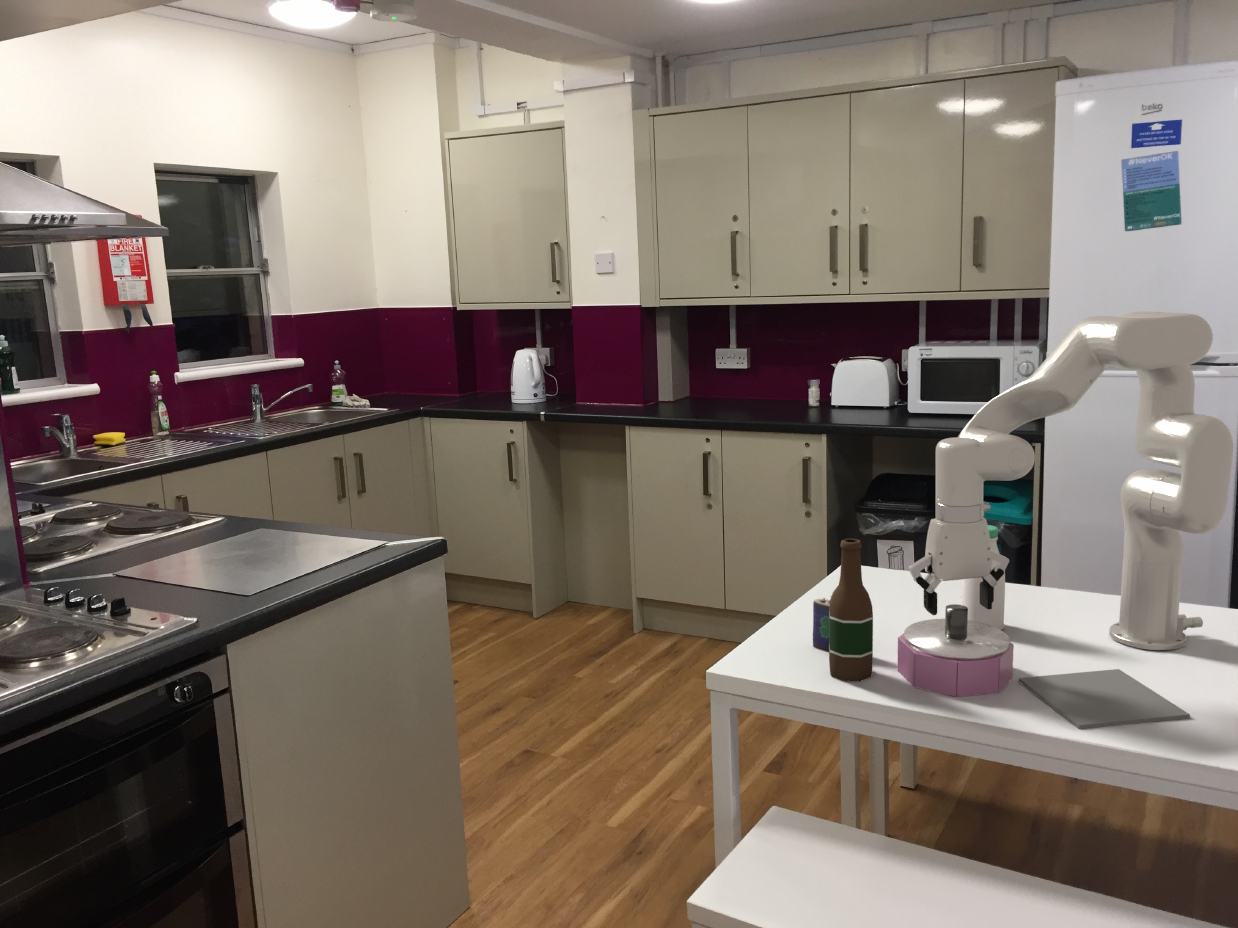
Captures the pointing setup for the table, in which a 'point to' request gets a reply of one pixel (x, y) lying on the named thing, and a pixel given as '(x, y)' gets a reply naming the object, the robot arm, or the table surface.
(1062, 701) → the mat
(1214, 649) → the table surface
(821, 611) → the flask
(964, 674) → the pink octagonal dish
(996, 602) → the milk bottle
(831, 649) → the beer bottle
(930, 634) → the lid
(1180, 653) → the table surface
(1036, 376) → the robot arm
